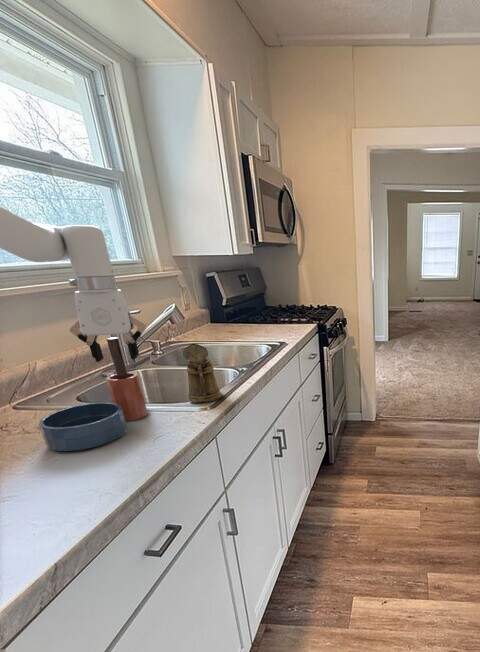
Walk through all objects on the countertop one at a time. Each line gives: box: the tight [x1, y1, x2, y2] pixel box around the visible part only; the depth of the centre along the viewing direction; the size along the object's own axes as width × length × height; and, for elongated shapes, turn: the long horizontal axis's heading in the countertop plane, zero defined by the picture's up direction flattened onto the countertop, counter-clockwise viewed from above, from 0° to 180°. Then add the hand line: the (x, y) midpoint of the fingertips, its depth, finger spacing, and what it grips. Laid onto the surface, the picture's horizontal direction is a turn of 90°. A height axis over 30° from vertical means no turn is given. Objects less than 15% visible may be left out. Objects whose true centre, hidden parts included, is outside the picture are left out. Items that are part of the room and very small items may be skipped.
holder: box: [105, 371, 148, 422], centre depth 103 cm, size 7×7×11 cm
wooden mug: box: [182, 343, 222, 404], centre depth 112 cm, size 9×14×18 cm, turn 23°
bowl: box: [38, 401, 128, 452], centre depth 92 cm, size 15×15×6 cm
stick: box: [106, 336, 129, 379], centre depth 101 cm, size 2×2×20 cm
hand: (117, 358), depth 99 cm, fingers open, 7 cm apart
